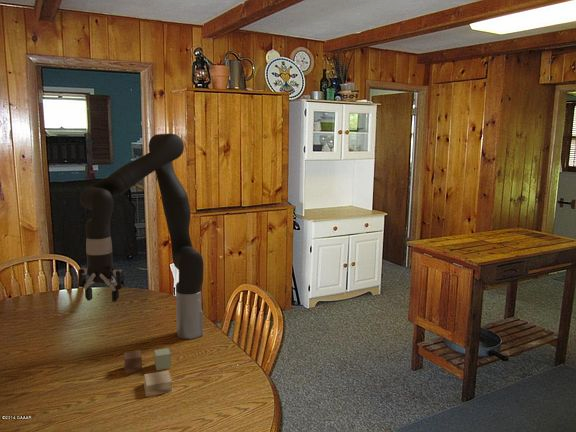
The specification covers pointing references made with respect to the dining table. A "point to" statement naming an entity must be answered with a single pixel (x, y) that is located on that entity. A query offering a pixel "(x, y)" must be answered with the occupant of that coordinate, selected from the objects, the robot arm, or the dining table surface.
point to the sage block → (162, 359)
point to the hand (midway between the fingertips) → (102, 300)
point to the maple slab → (158, 382)
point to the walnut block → (132, 362)
